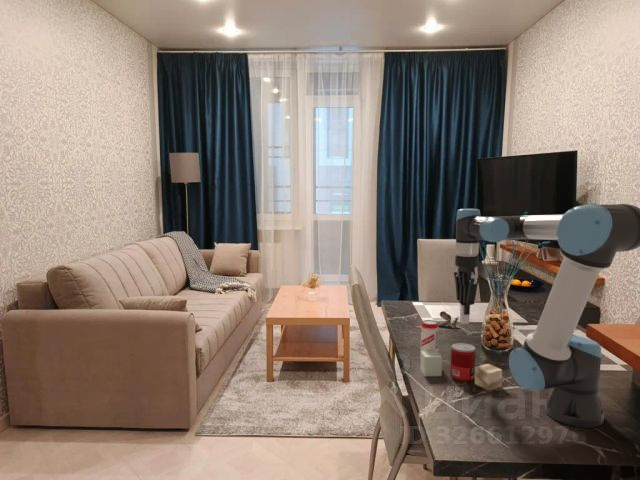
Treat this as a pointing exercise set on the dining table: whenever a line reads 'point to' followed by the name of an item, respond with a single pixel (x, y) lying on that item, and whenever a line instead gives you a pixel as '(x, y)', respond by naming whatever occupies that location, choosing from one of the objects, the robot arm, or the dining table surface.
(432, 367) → the sage block
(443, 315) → the snake figurine
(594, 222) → the robot arm
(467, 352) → the canned food
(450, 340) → the dining table surface
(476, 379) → the birch block
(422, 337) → the beer can
